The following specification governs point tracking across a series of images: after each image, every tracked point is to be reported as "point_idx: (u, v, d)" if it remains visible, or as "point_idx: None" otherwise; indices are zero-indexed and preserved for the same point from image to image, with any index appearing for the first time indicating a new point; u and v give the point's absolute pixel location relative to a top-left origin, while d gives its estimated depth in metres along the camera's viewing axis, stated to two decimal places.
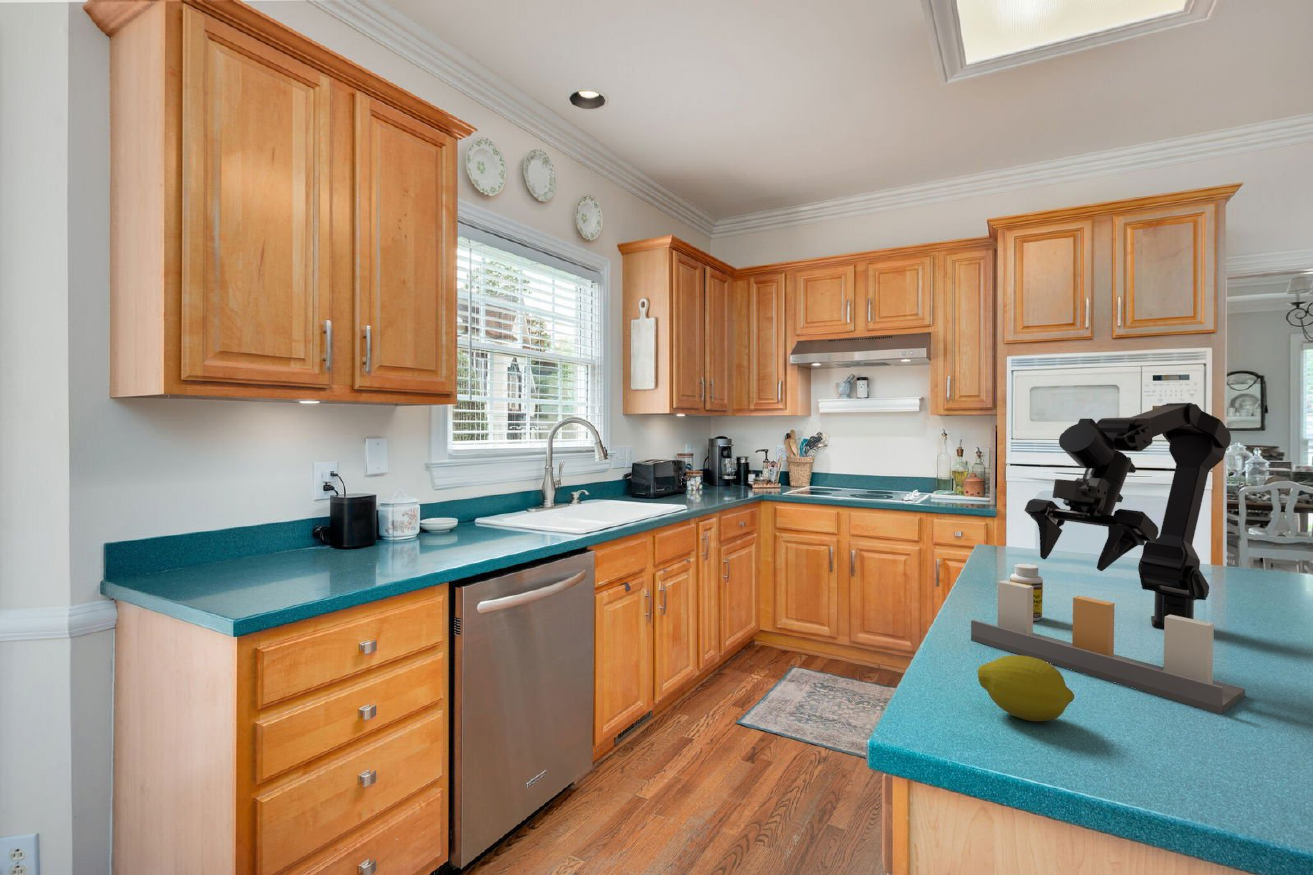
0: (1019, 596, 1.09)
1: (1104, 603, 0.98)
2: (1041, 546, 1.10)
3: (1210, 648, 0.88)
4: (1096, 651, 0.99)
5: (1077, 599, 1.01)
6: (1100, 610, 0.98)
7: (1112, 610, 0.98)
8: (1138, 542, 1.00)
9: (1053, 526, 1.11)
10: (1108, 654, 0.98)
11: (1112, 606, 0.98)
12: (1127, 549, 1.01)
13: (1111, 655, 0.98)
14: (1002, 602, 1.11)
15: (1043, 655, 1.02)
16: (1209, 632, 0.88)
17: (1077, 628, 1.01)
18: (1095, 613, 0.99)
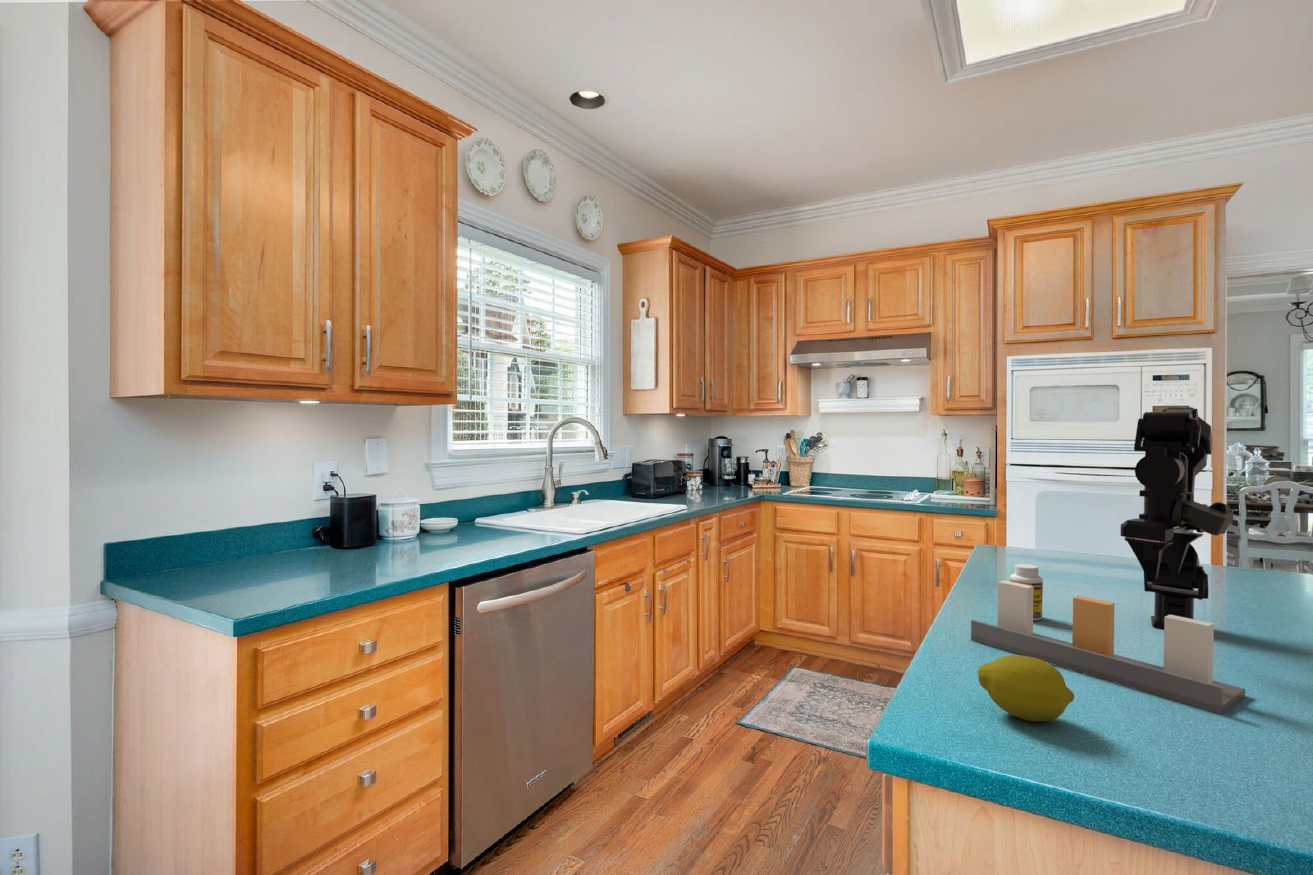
0: (1019, 596, 1.09)
1: (1104, 603, 0.98)
2: (1157, 570, 1.05)
3: (1210, 648, 0.88)
4: (1096, 651, 0.99)
5: (1077, 599, 1.01)
6: (1100, 610, 0.98)
7: (1112, 610, 0.98)
8: None
9: None
10: (1108, 654, 0.98)
11: (1112, 606, 0.98)
12: None
13: (1111, 655, 0.98)
14: (1002, 602, 1.11)
15: (1043, 655, 1.02)
16: (1209, 632, 0.88)
17: (1077, 628, 1.01)
18: (1095, 613, 0.99)
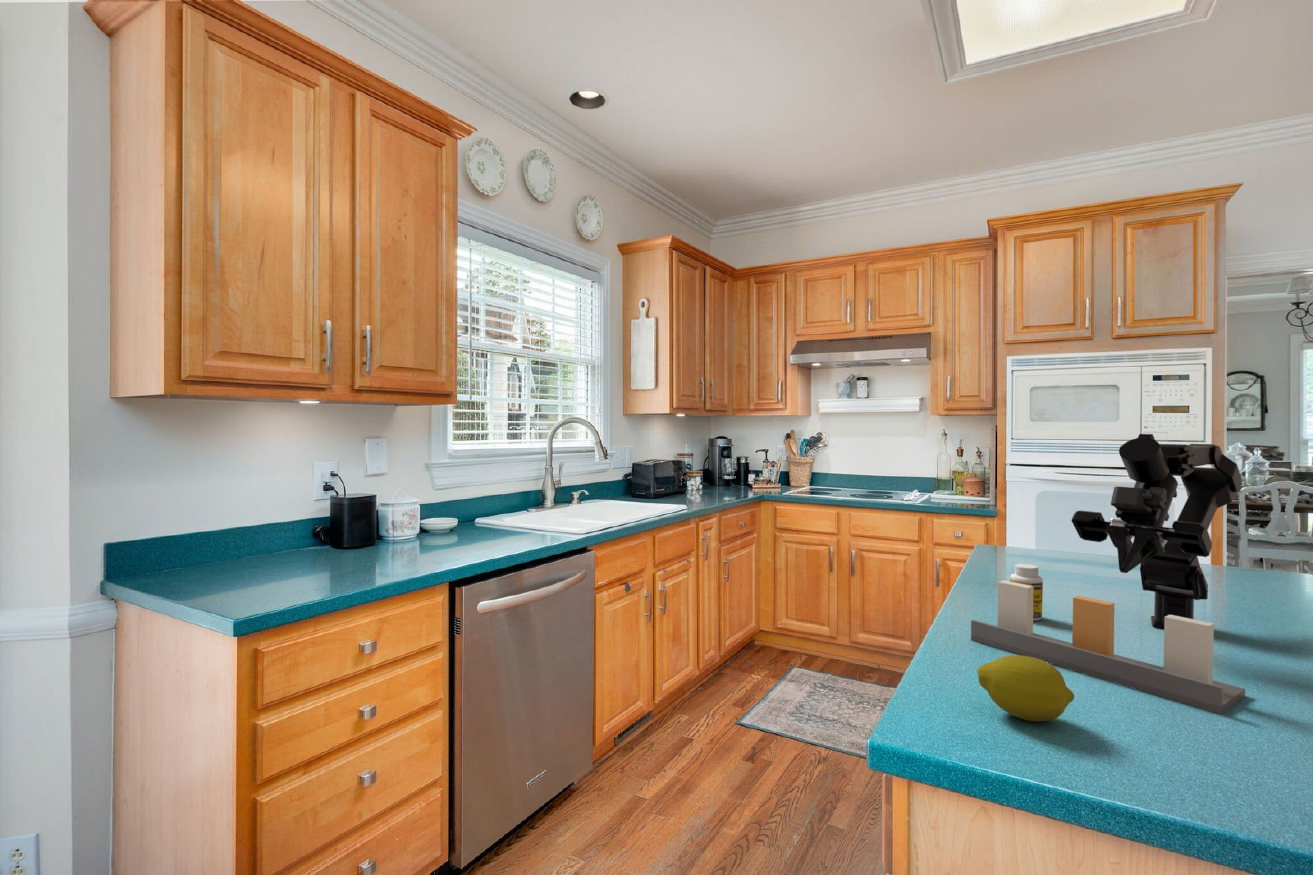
0: (1019, 596, 1.09)
1: (1104, 603, 0.98)
2: (1120, 558, 1.07)
3: (1210, 648, 0.88)
4: (1096, 651, 0.99)
5: (1077, 599, 1.01)
6: (1100, 610, 0.98)
7: (1112, 610, 0.98)
8: (1159, 550, 1.06)
9: (1129, 541, 1.09)
10: (1108, 654, 0.98)
11: (1112, 606, 0.98)
12: (1148, 556, 1.07)
13: (1111, 655, 0.98)
14: (1002, 602, 1.11)
15: (1043, 655, 1.02)
16: (1209, 632, 0.88)
17: (1077, 628, 1.01)
18: (1095, 613, 0.99)
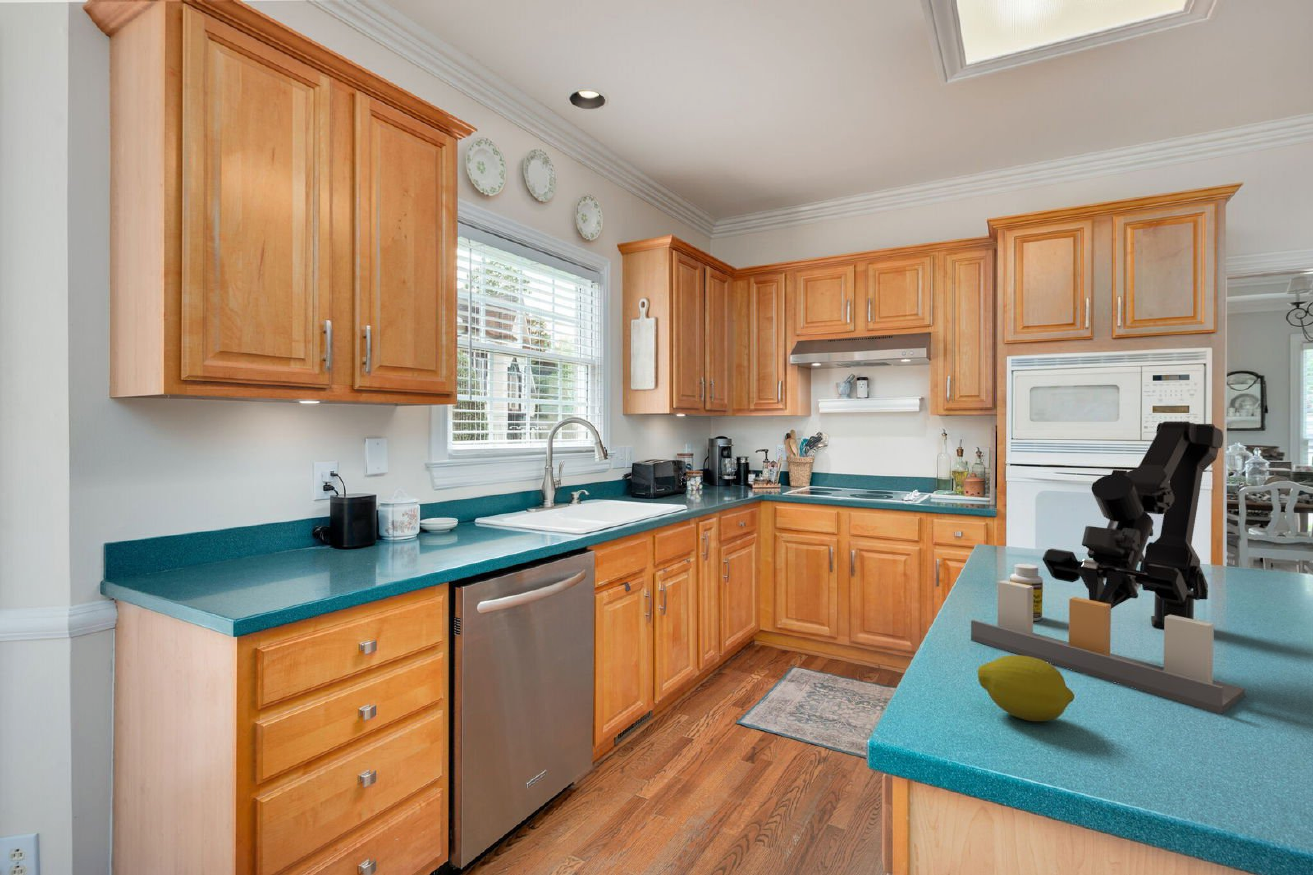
0: (1019, 596, 1.09)
1: (1100, 604, 0.98)
2: None
3: (1210, 648, 0.88)
4: None
5: (1073, 600, 1.00)
6: (1097, 611, 0.98)
7: (1108, 611, 0.98)
8: (1132, 594, 1.01)
9: (1101, 584, 1.03)
10: None
11: (1108, 607, 0.97)
12: (1121, 600, 1.01)
13: None
14: (1002, 602, 1.11)
15: (1043, 655, 1.02)
16: (1209, 632, 0.88)
17: (1073, 629, 1.00)
18: (1091, 614, 0.98)
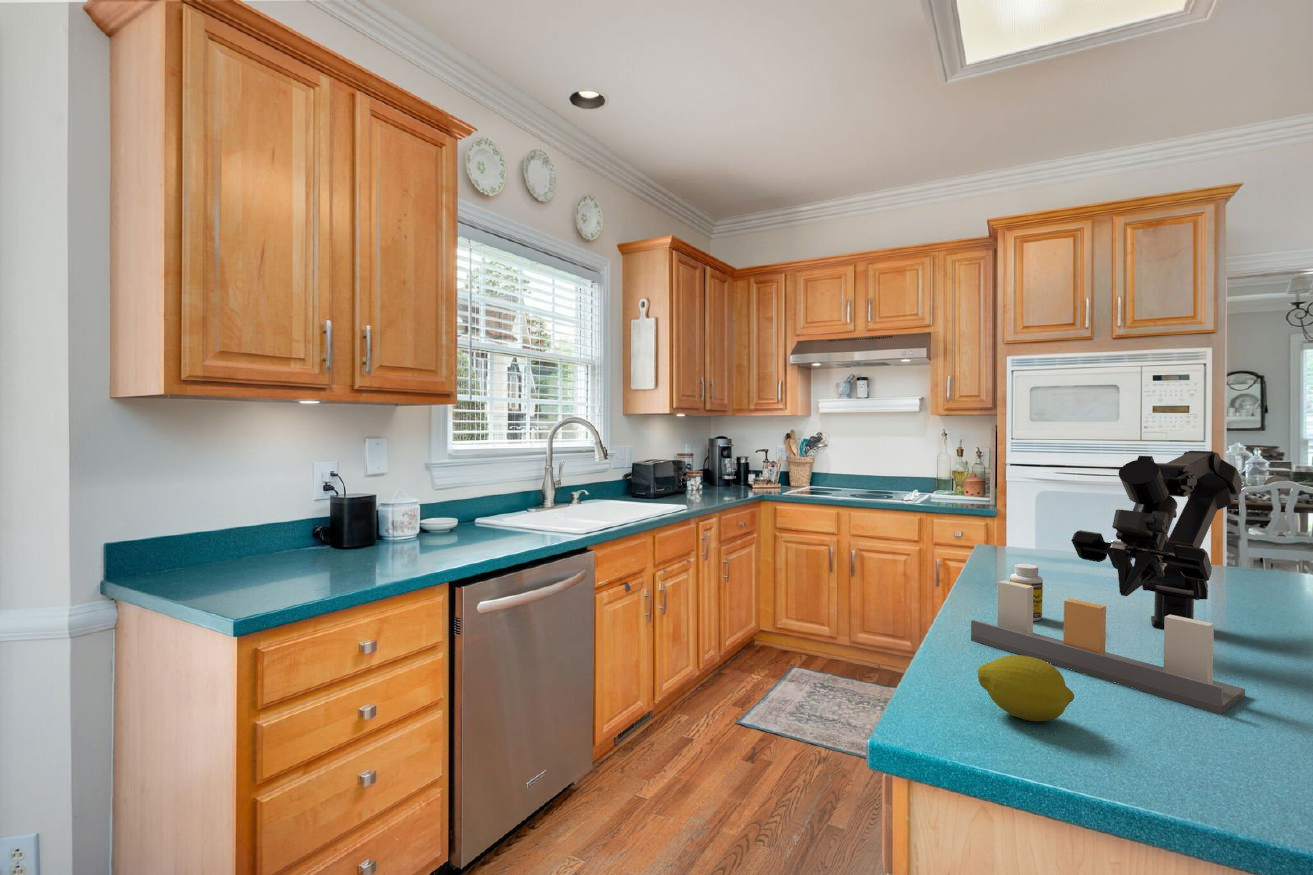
0: (1019, 596, 1.09)
1: (1095, 606, 0.97)
2: (1120, 582, 1.07)
3: (1210, 648, 0.88)
4: None
5: (1068, 602, 0.99)
6: (1091, 613, 0.97)
7: (1103, 613, 0.97)
8: (1159, 573, 1.06)
9: (1129, 564, 1.09)
10: None
11: (1103, 609, 0.96)
12: (1148, 579, 1.07)
13: None
14: (1002, 602, 1.11)
15: (1043, 655, 1.02)
16: (1209, 632, 0.88)
17: (1068, 632, 0.99)
18: (1086, 616, 0.97)
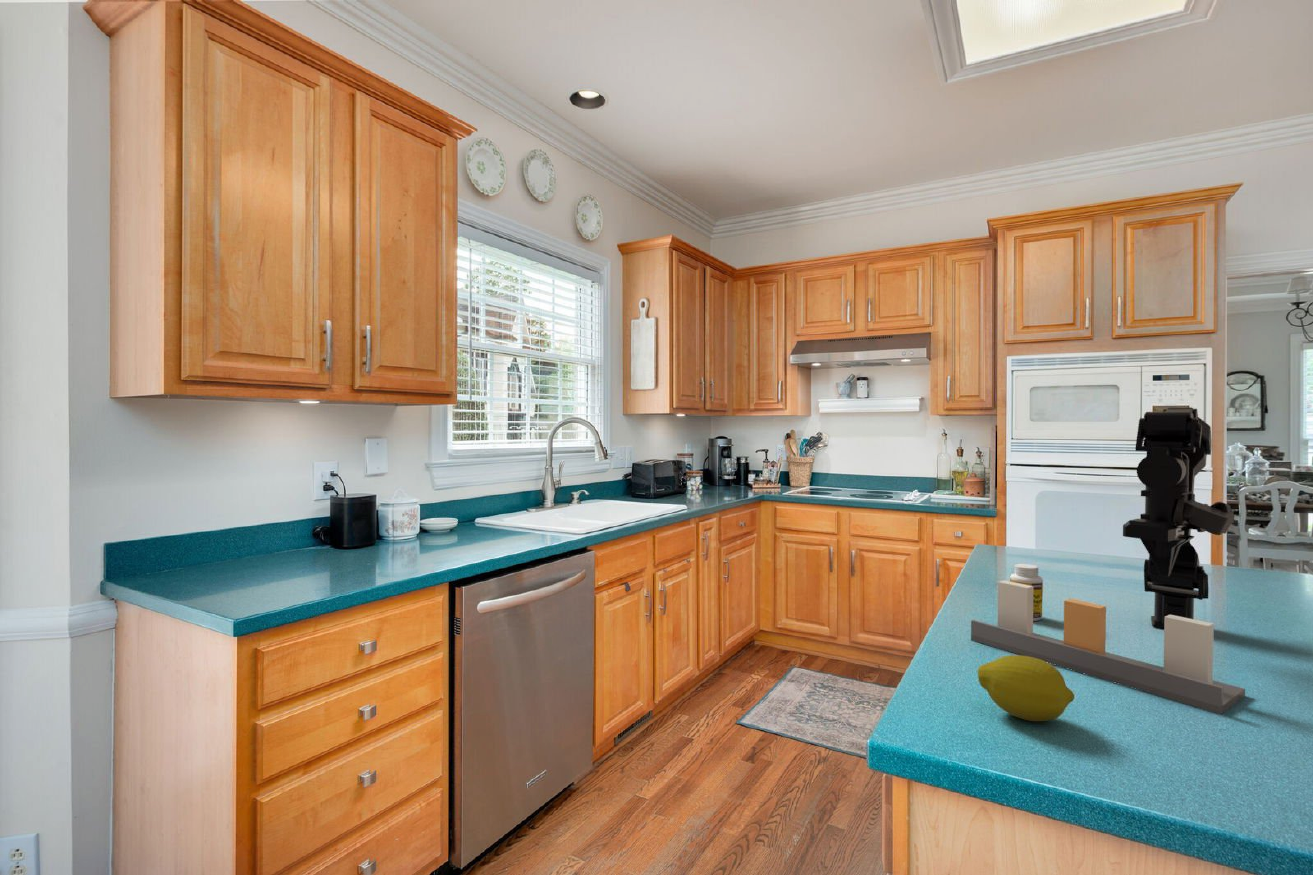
0: (1019, 596, 1.09)
1: (1095, 606, 0.97)
2: (1170, 567, 1.07)
3: (1210, 648, 0.88)
4: None
5: (1068, 602, 0.99)
6: (1091, 613, 0.97)
7: (1103, 613, 0.97)
8: None
9: None
10: None
11: (1103, 609, 0.96)
12: None
13: None
14: (1002, 602, 1.11)
15: (1043, 655, 1.02)
16: (1209, 632, 0.88)
17: (1068, 632, 0.99)
18: (1086, 616, 0.97)
